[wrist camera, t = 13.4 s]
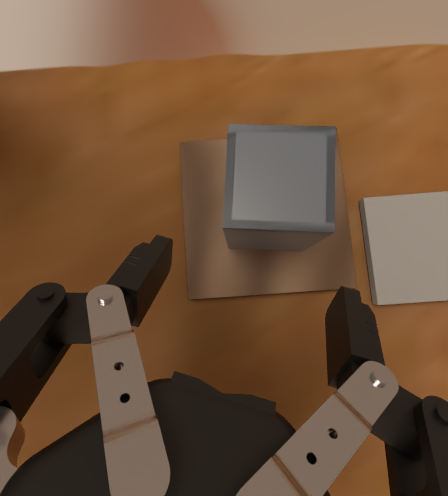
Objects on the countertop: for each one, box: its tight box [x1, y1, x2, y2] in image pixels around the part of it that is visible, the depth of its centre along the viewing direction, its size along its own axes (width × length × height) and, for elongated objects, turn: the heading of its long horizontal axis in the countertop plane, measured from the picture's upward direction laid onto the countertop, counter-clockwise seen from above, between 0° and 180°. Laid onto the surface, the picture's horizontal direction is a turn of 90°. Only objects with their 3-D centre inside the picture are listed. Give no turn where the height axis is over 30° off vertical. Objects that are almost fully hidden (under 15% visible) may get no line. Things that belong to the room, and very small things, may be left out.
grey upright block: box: [222, 124, 336, 252], centre depth 22 cm, size 6×6×9 cm
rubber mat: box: [359, 191, 448, 305], centre depth 26 cm, size 9×9×1 cm
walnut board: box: [180, 128, 357, 300], centre depth 27 cm, size 14×14×1 cm
